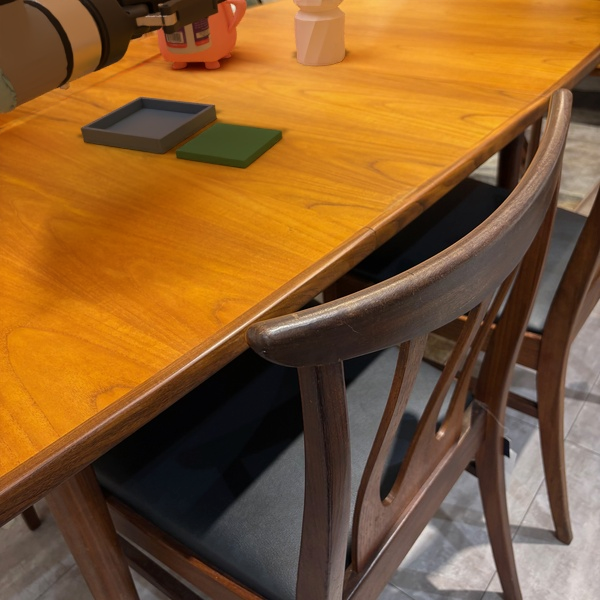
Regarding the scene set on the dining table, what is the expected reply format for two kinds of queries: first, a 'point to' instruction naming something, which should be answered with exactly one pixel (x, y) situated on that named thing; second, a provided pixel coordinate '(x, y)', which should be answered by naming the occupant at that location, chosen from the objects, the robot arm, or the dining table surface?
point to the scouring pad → (229, 145)
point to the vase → (319, 32)
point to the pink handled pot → (220, 33)
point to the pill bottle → (190, 38)
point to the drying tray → (149, 124)
